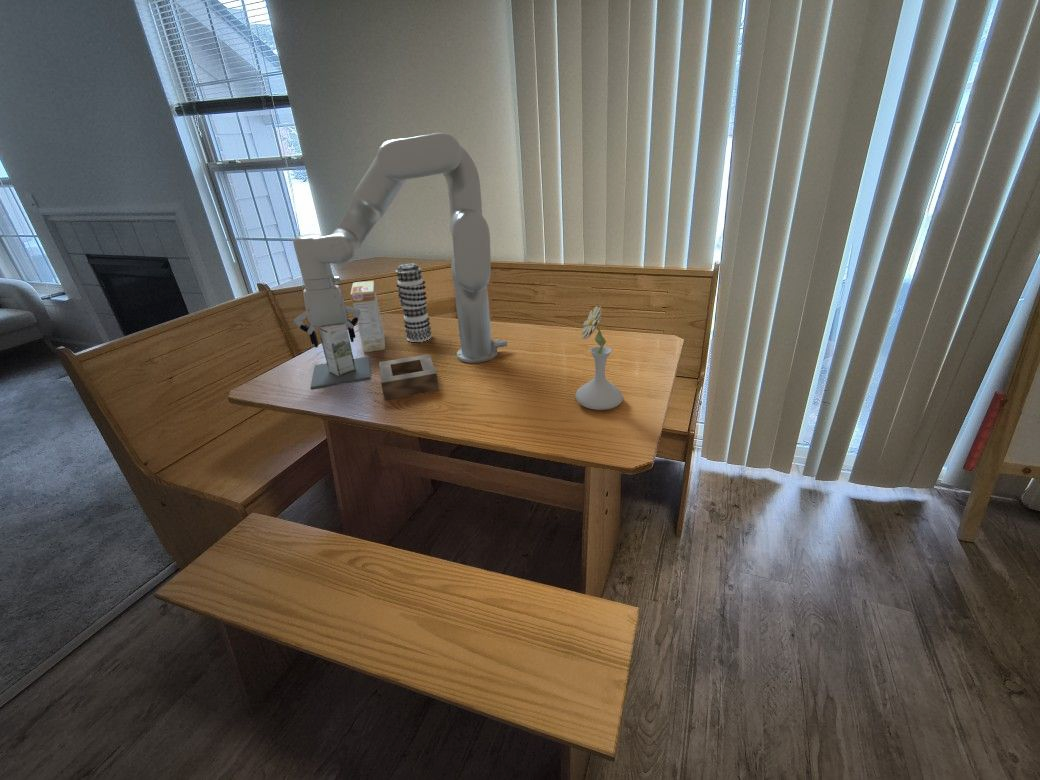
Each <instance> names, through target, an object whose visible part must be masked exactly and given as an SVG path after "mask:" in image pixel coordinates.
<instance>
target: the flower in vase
mask: <svg viewBox="0 0 1040 780" xmlns="http://www.w3.org/2000/svg"><path fill="white" fill-rule="evenodd" d="M588 313H589V315H588V317H587V319H586V320H585V321H584V322H583V326H584V327H583V328H582V330H581V331H580V335H582V336H581V339H583V340H585V339H586V340H587V339H589V338H590V337H591V336H592V335H593V333H594V332H595V331H596V330H597V331H598V332H597V333H596V335H595V338H594V341H595V342H596V343H597V344H598V345H597V346H592V347H591V348H590V349H589V352H590V353H591V355H592V357H593V359H594V368H595V369H594V377H593V379H591V380H590V381H588V382H586V383H585V384H583V385H582V386H581V387H580V388H578V389H577V391H576V392H575V396H574V398H575V399H576V401H577V402H578V403H579V404H580V405H581V406H582V407H585V408H587V409H589V410H595V411H596V410H597V411H601V410H602V411H603V410H604V411H605V410H610V409H614V408H616V407H618V406H619V405H620V404H622V402H623V400H624V394H623V393H622V391H621V390H620V389H619V388H618V387H617V386H616V385H615V384H613V383H612V382H610V381H608V380H607V378H606V374H605V373H606V372H605V371H606V363H607V360H608V357H609V356H610V354H611V353H612V352H613V350H612V348H611V347H609V346H608V347H607V346H605V344H606V342H607V341H606V339H605V338H604V336H603V335H602V334H603V333H602V332H601V330H600V327H599V324H600V321H601V319H602V314H603V308H602V307H601V305H600V306H599V307H598V305H596V306H595V307H594V308H593V310H590V311H589V312H588Z"/></svg>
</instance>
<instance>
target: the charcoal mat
mask: <svg viewBox="0 0 1040 780" xmlns="http://www.w3.org/2000/svg"><path fill="white" fill-rule="evenodd" d="M354 363H355V367H356V370H353V371H351V372H348V373H346V374H343V375H340V376H338V375H336V374H333V373H331V372H329V369H328V365H327V362H326V363H319V364H314V367H313V374H312V378H311V382H310V389H311V390H313V388H314V389H319V387H320V388H325V387H331V386H337V385H342V384H349V383H355V382H360V381H366V380H371V379H372V374H371V360H370V356H364V357H358V358H357V357H356V358H354Z"/></svg>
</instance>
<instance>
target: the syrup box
mask: <svg viewBox="0 0 1040 780" xmlns="http://www.w3.org/2000/svg"><path fill="white" fill-rule="evenodd" d="M317 330H318V334H319V338H320V341H321V346H322V349H323V353H324V357H325V361H326V363H327V365H328V369H329V372H331V373H333V374H336V375H338V376H340V375H343V374H346V373H348V372H351V371H353V370H356V367H355V363H354V359H355V357H354V354H353V349H352V345H351V340H350V336H349V332H348V326H347V325H346V324H344V323H341V324H334V325H327V326H319V327H317Z"/></svg>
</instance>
